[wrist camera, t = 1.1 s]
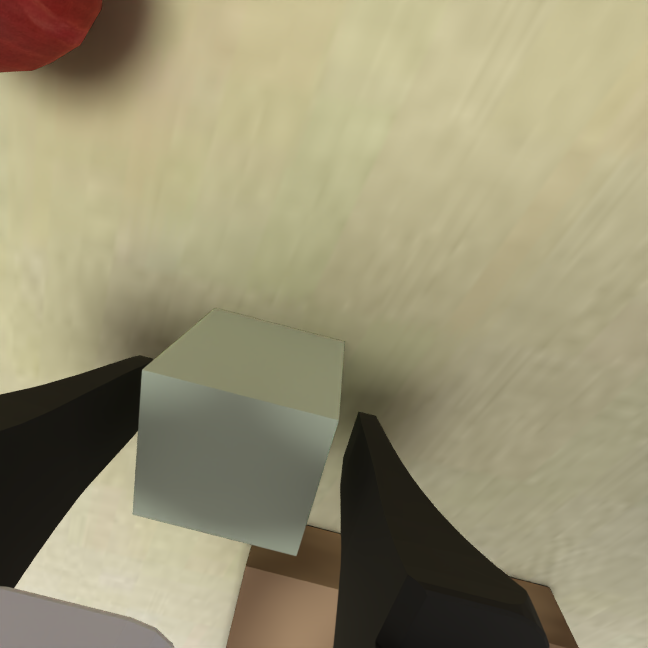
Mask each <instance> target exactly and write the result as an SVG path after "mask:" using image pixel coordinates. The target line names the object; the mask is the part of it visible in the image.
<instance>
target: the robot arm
mask: <svg viewBox="0 0 648 648" xmlns="http://www.w3.org/2000/svg"><path fill="white" fill-rule="evenodd" d="M153 360H154V359H152V358H148V357H144V356H140V355H139V356H135V357H131V358H128V359H125V360H122V361H119V362H116V363H113V364H110V365H107V366H103V367H100V368H97V369H94V370H91V371H88V372H85V373H82V374H79V375H75V376H72V377H69V378H65V379H62V380H58V381H55V382H51V383H48V384H44V385H40V386H37V387H32V388H28V389H24V390H19V391H15V392H10V393H5V394H0V648H174V646H173V643H172V642H170V641H169V640H168V639H167V638H166V637H165V636H164V635H163V634H162V633H161V632H160V631H159V630H158V629H157V628H155V627H152V626H150V625H148V624H145V623H143V622H141V621H138V620H136V619H134V618H131V617H127V616H123V615H119V614H115V613H111V612H107V611H103V610H99V609H95V608H91V607H87V606H83V605H79V604H75V603H71V602H67V601H63V600H59V599H55V598H51V597H47V596H43V595H39V594H35V593H30V592H26V591H22V590H18V589H14V587H15V586H16V584H17V583H18V581H19V580H20V578H21V577H22V575H23V574H24V572H25V571H26V570H27V568H28V567H29V565H30V564H31V562H32V561H33V559H34V558H35V556H36V555H37V554H38V552H39V551H40V549H41V548H42V547H43V545H44V544H45V542H46V541H47V539H48V538H49V537H50V535H51V534H52V532H53V531H54V530H55V528H56V527H57V525H58V524H59V523H60V521H61V520H62V519H63V517H64V516H65V515H66V513H67V512H68V511H69V509H70V508H71V507H72V505H73V504H74V503H75V501H76V500H77V499H78V497H79V496H80V495H81V494H82V493H83V492H84V490H85V489H86V488H87V487H88V486H89V484H90V483H91V482H92V481H93V480H94V479H95V478H96V477H97V476H98V475H99V473H100V472H101V471H102V470H103V469H104V468H105V467H106V466H107V465H108V464H109V462H110V461H111V460H112V459H113V458H114V457H115V456H116V455H117V454H118V453H119V452H120V450H121V449H122V448H123V447H124V446H125V445H126V444H127V443H128V441H129V440H130V439H131V438H132V437H133V436H134V435H135V434H136V432H137V431H138V425H139V410H140V395H141V379H142V369H144V368H145V367H146V366H147V365H148V364H149V363H151V362H152V361H153ZM340 499H341V566H340V578H339V590H338V602H337V613H336V623H335V634H334V644H333V648H549V646H550V645H549V642H548V639H547V636H546V634H545V631H544V629H543V626H542V624H541V622H540V619H539V617H538V614H537V612H536V610H535V608H534V605H533V603H532V601H531V599H530V597H529V595H528V593H527V591H526V590H525V589H524V588H523V587H522V586H520V585H519V584H518V583H517V582H515V581H514V580H513V579H512V578H510V577H509V576H508V575H507V574H505V573H504V572H503V571H502V570H500V569H499V568H498V567H497V566H495V565H494V564H493V563H492V562H490V561H489V560H488V559H487V558H486V557H485V556H484V555H483V554H481V553H480V552H479V551H478V550H477V549H476V548H475V547H474V546H473V545H472V544H470V543H469V542H468V541H467V540H466V539H465V538H464V537H463V536H462V535H461V534H460V533H459V532H458V531H457V530H456V529H455V528H454V527H453V526H452V525H451V524H450V523H449V522H448V520H447V519H446V518H445V517H444V516H443V515H442V514H441V513H440V512H439V511H438V510H437V508H436V507H435V506H434V505H433V504H432V503H431V501H430V500H429V499H428V498H427V496H426V495H425V494H424V493H423V491H422V490H421V489H420V488H419V486H418V485H417V484H416V482H415V481H414V479H413V478H412V477H411V475H410V474H409V472H408V471H407V469H406V468H405V466H404V465H403V463H402V462H401V460H400V458H399V457H398V455H397V453H396V452H395V450H394V448H393V447H392V445H391V443H390V441H389V440H388V438H387V436H386V434H385V432H384V430H383V428H382V427H381V425H380V423H379V421H378V419H377V417H376V416H374V415H370V414H366V413H362V412H358V415H357V418H356V421H355V424H354V427H353V430H352V433H351V436H350V439H349V442H348V445H347V448H346V451H345V454H344V457H343V465H342V474H341V484H340Z"/></svg>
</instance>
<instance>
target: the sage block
mask: <svg viewBox="0 0 648 648" xmlns="http://www.w3.org/2000/svg"><path fill="white" fill-rule="evenodd" d="M344 345H345V341H341V340H337V339H333V338H329V337H325V336H322V335H318V334H314V333H310V332H306V331H302V330H299V329H295V328H291V327H287V326H283V325H279V324H275V323H272V322H268V321H264V320H260V319H256V318H252V317H248V316H245V315H241V314H237V313H233V312H229V311H225V310H222V309H218V308H214V309H213V310H212V311H211V312H210V313H208V314H207V315H206V316H205V317H204V318H203V319H201V320H200V321H199V322H198V323H197V324H195V325H194V326H193V327H192V328H191V329H190V330H188V331H187V332H186V333H185V334H184V335H182V336H181V337H180V338H179V339H178V340H177V341H175V342H174V343H173V344H172V345H171V346H169V347H168V348H167V349H166V350H165V351H164V352H162V353H161V354H160V355H159V356H158V357H157V358H155V359H154V360H153V361H152V362H151V363H149V364H148V365H147V366H146V367H145V368H144V369H142V379H141V395H140V410H139V425H138V440H137V456H136V471H135V486H134V502H133V515H137V516H140V517H144V518H148V519H152V520H156V521H160V522H164V523H168V524H172V525H176V526H180V527H184V528H188V529H192V530H196V531H200V532H203V533H207V534H211V535H215V536H219V537H223V538H227V539H231V540H235V541H239V542H243V543H247V544H251V545H255V546H259V547H262V548H266V549H270V550H274V551H278V552H282V553H286V554H290V555H294V556H297V553H298V549H299V546H300V543H301V540H302V537H303V533H304V530H305V527H306V524H307V521H308V518H309V514H310V511H311V508H312V505H313V502H314V498H315V495H316V492H317V489H318V486H319V482H320V479H321V476H322V473H323V470H324V466H325V463H326V460H327V457H328V454H329V450H330V447H331V444H332V441H333V438H334V435H335V431H336V428H337V425H338V422H339V413H340V399H341V386H342V372H343V359H344Z"/></svg>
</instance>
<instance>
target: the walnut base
mask: <svg viewBox="0 0 648 648" xmlns="http://www.w3.org/2000/svg"><path fill="white" fill-rule="evenodd" d="M340 566H341V534H338V533H334V532H330V531H326V530H322V529H319V528H315V527H311V526H307V525H306V527H305V530H304V533H303V537H302V540H301V543H300V546H299V549H298V553H297V556H294V555H290V554H286V553H282V552H278V551H274V550H270V549H266V548H262V547H259V546H255V545H252V547H251V550H250V553H249V557H248V560H247V564H246V567H245V571H244V575H243V580H242V584H241V588H240V592H239V596H238V600H237V604H236V609H235V613H234V617H233V621H232V625H231V629H230V633H229V637H228V642H227V646H226V648H333V644H334V634H335V623H336V613H337V602H338V590H339V578H340ZM512 579H513V580H514V581H515V582H517V583H518V584H519V585H520V586H522V587H523V588H524V589H525V590H526V591H527V593H528V595H529V597H530V599H531V601H532V603H533V605H534V608H535V610H536V612H537V614H538V617H539V619H540V622H541V624H542V626H543V629H544V631H545V634H546V636H547V639H548V642H549V645H550V646H549V648H579V647H578V645H577V643H576V641H575V639H574V637H573V635H572V633H571V631H570V629H569V627H568V625H567V623H566V621H565V618H564V616H563V614H562V612H561V610H560V608H559V606H558V604H557V602H556V600H555V598H554V596H553V594H552V592H551V590H550V588H549V587H545V586H541V585H537V584H534V583H530V582H526V581H522V580H518V579H514V578H512Z"/></svg>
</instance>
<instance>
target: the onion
mask: <svg viewBox="0 0 648 648" xmlns="http://www.w3.org/2000/svg"><path fill="white" fill-rule="evenodd" d="M101 9H102V0H0V72H15V71H32V70H35V69H37V68H40V67H43V66H45V65H48V64H50V63H52V62H54V61H55V60H57V59H58V58H60V57H62V56H63V55H65V54H67V53H68V52H70V51H71V50H73V49H75V48H76V47H78V46H80V45H81V43H82V41H83V40H84V38H85V36H86V35H87V33H88V31H89V29H90V28H91V26H92V24H93V23H94V21H95V19H96V17H97V16H98V14H99V12H100V11H101Z"/></svg>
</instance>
